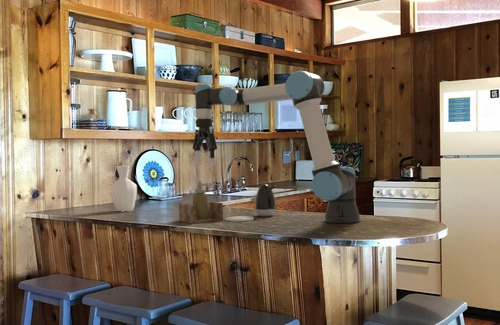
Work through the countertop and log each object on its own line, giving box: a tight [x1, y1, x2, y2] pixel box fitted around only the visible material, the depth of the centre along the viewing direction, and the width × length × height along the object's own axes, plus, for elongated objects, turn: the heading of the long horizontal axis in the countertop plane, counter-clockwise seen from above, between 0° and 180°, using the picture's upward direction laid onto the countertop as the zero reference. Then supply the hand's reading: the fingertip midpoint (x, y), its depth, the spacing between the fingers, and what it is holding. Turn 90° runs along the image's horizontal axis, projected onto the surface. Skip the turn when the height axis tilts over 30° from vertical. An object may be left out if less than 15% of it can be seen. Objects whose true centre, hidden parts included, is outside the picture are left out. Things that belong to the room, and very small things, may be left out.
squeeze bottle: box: [192, 180, 210, 220], centre depth 255 cm, size 8×8×18 cm
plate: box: [225, 215, 255, 223], centre depth 253 cm, size 13×13×1 cm
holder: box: [178, 200, 224, 225], centre depth 255 cm, size 15×15×8 cm
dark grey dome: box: [254, 183, 277, 217], centre depth 265 cm, size 10×10×15 cm
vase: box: [110, 165, 138, 213], centre depth 306 cm, size 14×14×25 cm
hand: (204, 165), depth 254 cm, fingers open, 13 cm apart
